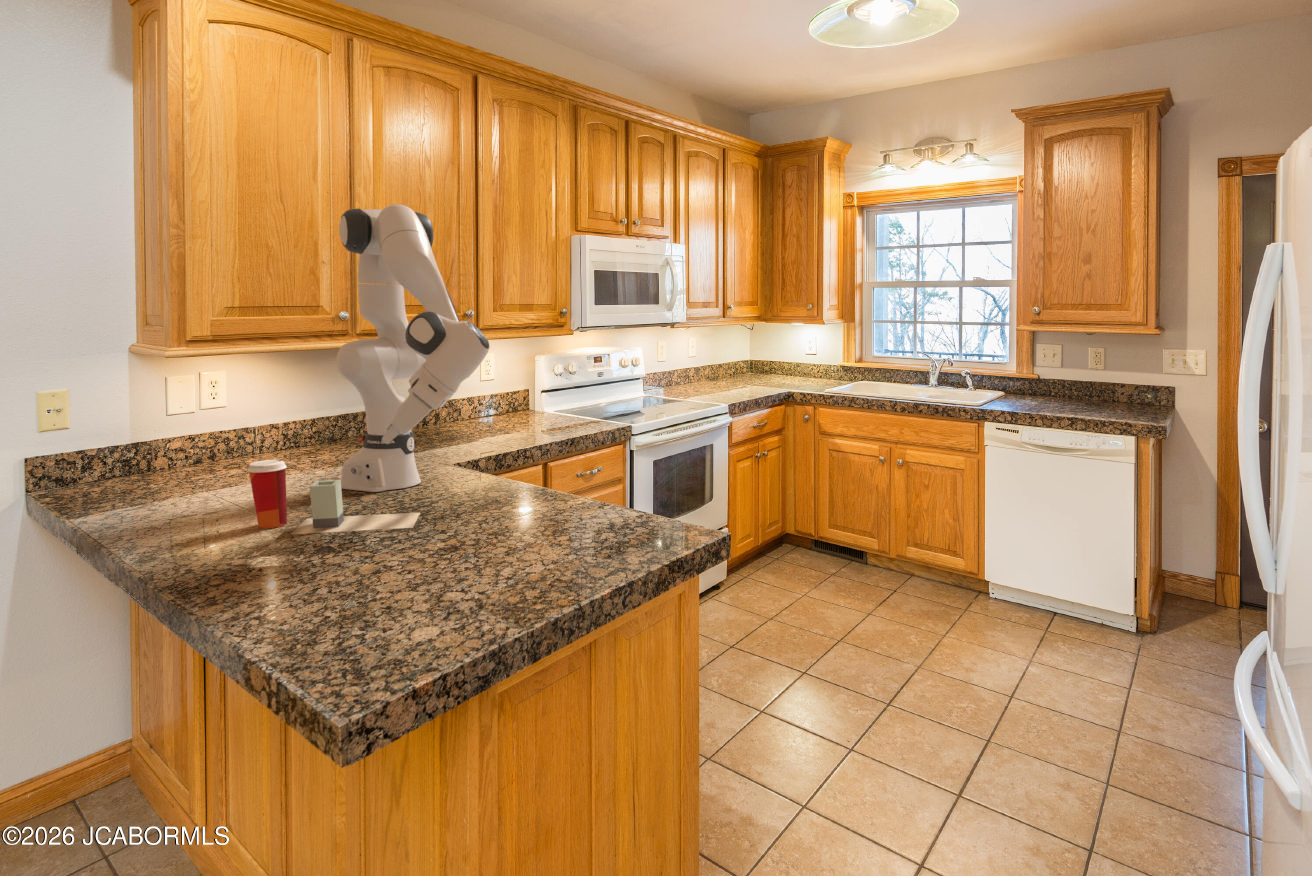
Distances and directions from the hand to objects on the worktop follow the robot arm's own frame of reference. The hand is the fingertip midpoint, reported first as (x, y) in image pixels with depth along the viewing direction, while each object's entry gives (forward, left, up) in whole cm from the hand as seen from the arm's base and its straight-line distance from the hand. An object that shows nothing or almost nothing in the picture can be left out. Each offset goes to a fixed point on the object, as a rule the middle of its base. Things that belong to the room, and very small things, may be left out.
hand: (386, 436), depth 161 cm
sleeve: (-12, -5, -18) cm, 22 cm away
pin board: (-6, -3, -20) cm, 21 cm away
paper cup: (-27, -3, -20) cm, 34 cm away
